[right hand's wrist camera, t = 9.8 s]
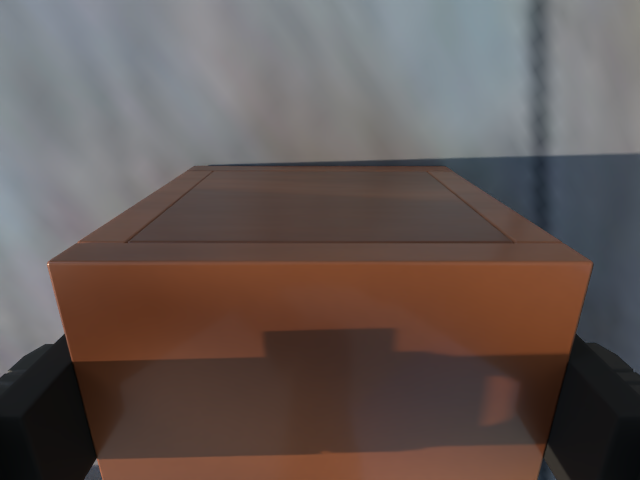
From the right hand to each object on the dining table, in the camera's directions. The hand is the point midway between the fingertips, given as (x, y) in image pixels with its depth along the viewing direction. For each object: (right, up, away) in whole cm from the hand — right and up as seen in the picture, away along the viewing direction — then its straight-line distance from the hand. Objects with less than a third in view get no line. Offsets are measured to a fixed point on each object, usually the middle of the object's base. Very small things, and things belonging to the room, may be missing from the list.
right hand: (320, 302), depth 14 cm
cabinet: (0, -4, +6) cm, 7 cm away
